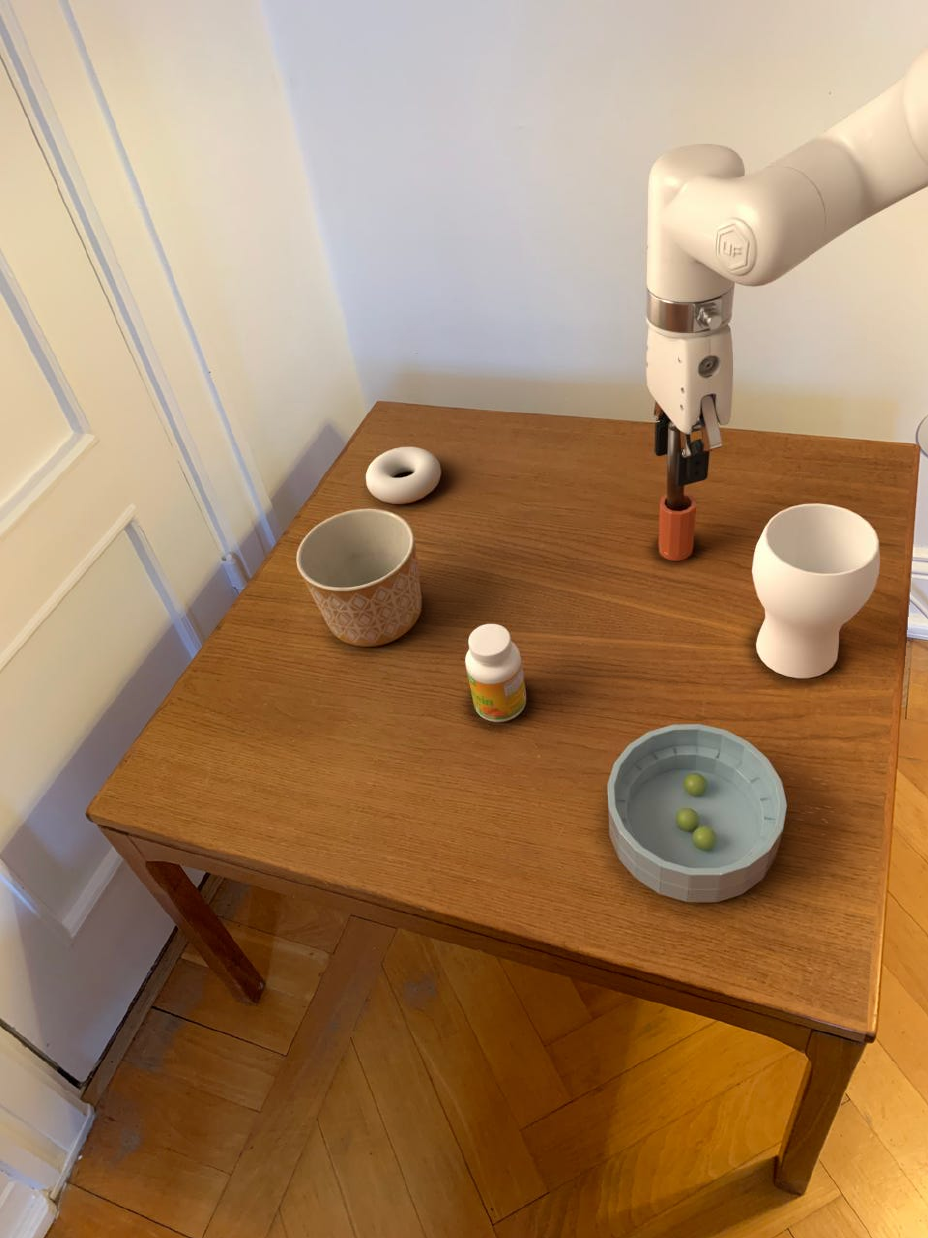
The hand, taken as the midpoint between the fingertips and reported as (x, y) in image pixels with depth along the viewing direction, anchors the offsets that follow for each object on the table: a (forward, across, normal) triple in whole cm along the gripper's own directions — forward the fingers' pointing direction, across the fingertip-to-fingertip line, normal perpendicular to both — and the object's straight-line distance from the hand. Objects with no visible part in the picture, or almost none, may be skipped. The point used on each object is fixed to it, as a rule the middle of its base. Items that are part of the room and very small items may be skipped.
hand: (680, 464), depth 90 cm
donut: (+12, +25, +27) cm, 39 cm away
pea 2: (+10, -33, +13) cm, 37 cm away
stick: (+11, 0, 0) cm, 11 cm away
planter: (+12, +3, +35) cm, 37 cm away
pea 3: (+10, -35, +13) cm, 39 cm away
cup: (+12, -18, -5) cm, 22 cm away
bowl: (+12, -33, +13) cm, 37 cm away
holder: (+12, 0, 0) cm, 12 cm away
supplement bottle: (+12, -14, +25) cm, 31 cm away
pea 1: (+10, -30, +11) cm, 34 cm away
